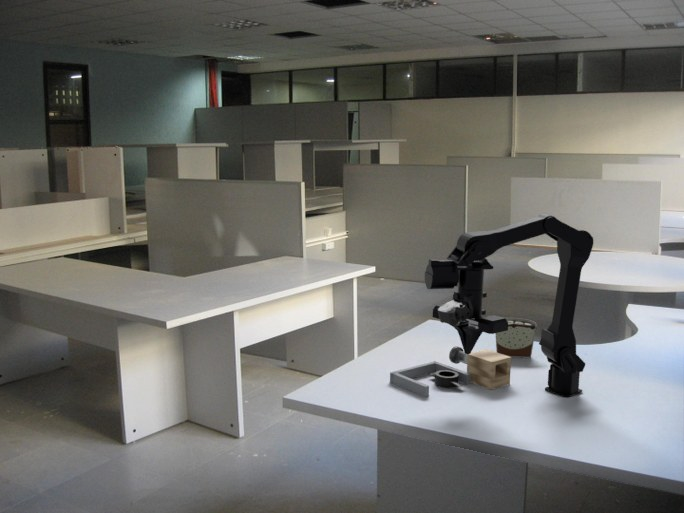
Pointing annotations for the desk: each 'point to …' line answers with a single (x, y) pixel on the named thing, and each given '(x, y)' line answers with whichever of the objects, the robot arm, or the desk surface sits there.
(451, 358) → the shaft
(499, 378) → the bearing block
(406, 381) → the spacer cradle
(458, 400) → the desk surface
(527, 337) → the food container
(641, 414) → the desk surface
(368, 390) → the desk surface
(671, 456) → the desk surface
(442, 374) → the black ring with tabs
